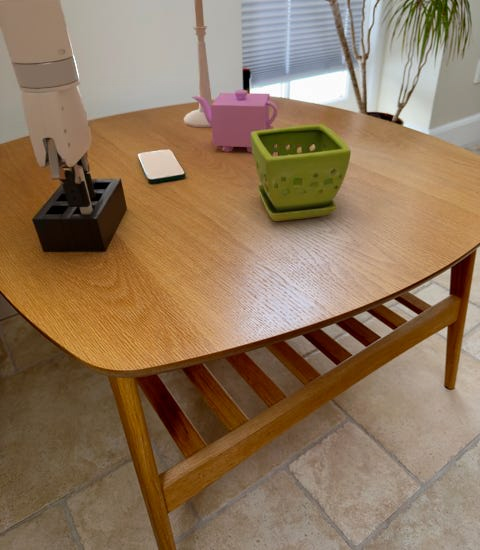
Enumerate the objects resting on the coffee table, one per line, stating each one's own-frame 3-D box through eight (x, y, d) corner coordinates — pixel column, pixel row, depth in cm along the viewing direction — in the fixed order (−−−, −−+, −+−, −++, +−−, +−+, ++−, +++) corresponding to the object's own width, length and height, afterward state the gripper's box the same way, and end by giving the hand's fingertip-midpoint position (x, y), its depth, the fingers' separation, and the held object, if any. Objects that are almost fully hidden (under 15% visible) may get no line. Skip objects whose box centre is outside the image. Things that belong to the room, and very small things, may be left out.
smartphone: (137, 157, 100) (148, 184, 88) (137, 153, 100) (148, 180, 88) (171, 152, 102) (186, 178, 90) (170, 148, 102) (186, 173, 90)
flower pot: (319, 187, 85) (325, 122, 78) (344, 222, 74) (354, 150, 67) (249, 194, 84) (248, 128, 76) (265, 231, 73) (265, 158, 65)
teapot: (279, 139, 107) (280, 85, 100) (274, 154, 100) (275, 97, 92) (200, 136, 111) (196, 84, 103) (190, 151, 103) (185, 95, 95)
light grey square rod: (87, 245, 71) (67, 170, 63) (91, 239, 72) (71, 165, 64) (98, 245, 71) (79, 170, 63) (101, 239, 72) (83, 165, 64)
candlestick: (228, 112, 127) (223, -11, 109) (230, 126, 116) (225, -7, 98) (185, 114, 126) (172, -9, 108) (182, 128, 116) (168, -5, 98)
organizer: (43, 252, 69) (31, 219, 66) (73, 208, 81) (65, 179, 77) (105, 251, 69) (96, 218, 65) (127, 208, 80) (121, 178, 77)
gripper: (43, 62, 62) (76, 180, 73) (-12, 90, 50) (38, 228, 61) (94, 60, 62) (119, 180, 73) (52, 88, 49) (90, 228, 60)
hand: (82, 201), depth 67 cm, fingers closed
